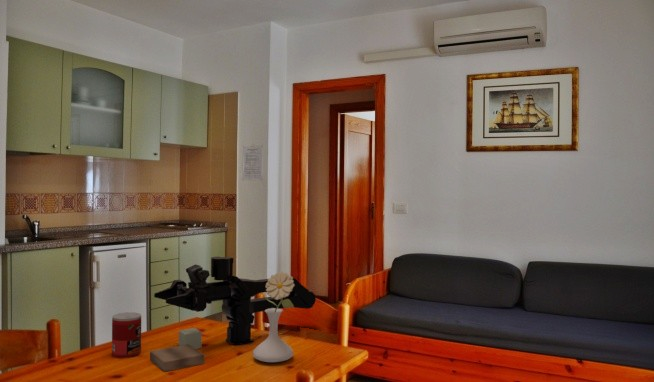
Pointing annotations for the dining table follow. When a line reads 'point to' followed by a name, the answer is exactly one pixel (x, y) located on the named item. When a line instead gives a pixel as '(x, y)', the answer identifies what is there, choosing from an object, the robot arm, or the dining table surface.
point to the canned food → (126, 334)
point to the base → (176, 357)
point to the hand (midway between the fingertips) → (159, 298)
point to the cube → (190, 338)
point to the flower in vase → (276, 320)
